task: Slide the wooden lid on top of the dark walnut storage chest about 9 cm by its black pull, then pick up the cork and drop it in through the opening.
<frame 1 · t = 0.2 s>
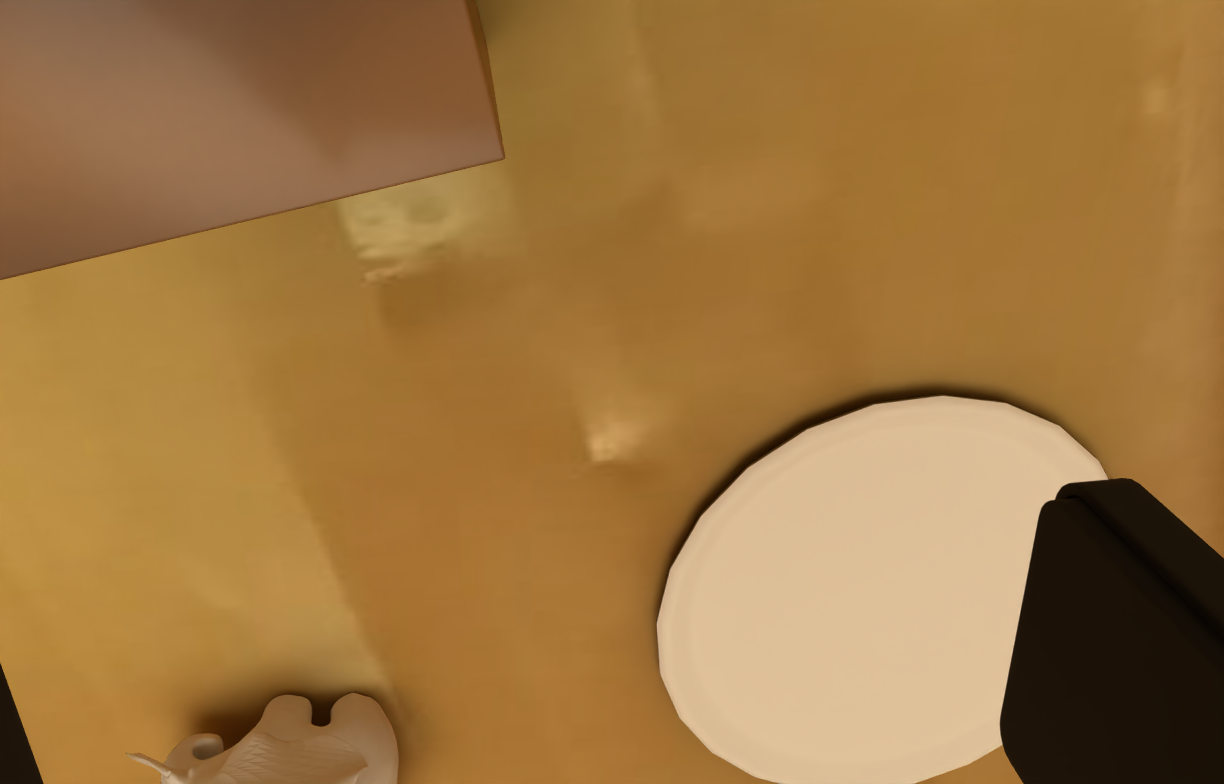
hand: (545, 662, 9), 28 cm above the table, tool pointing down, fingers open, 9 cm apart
plate: (885, 596, 46), on the table
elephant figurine: (294, 740, 45), on the table
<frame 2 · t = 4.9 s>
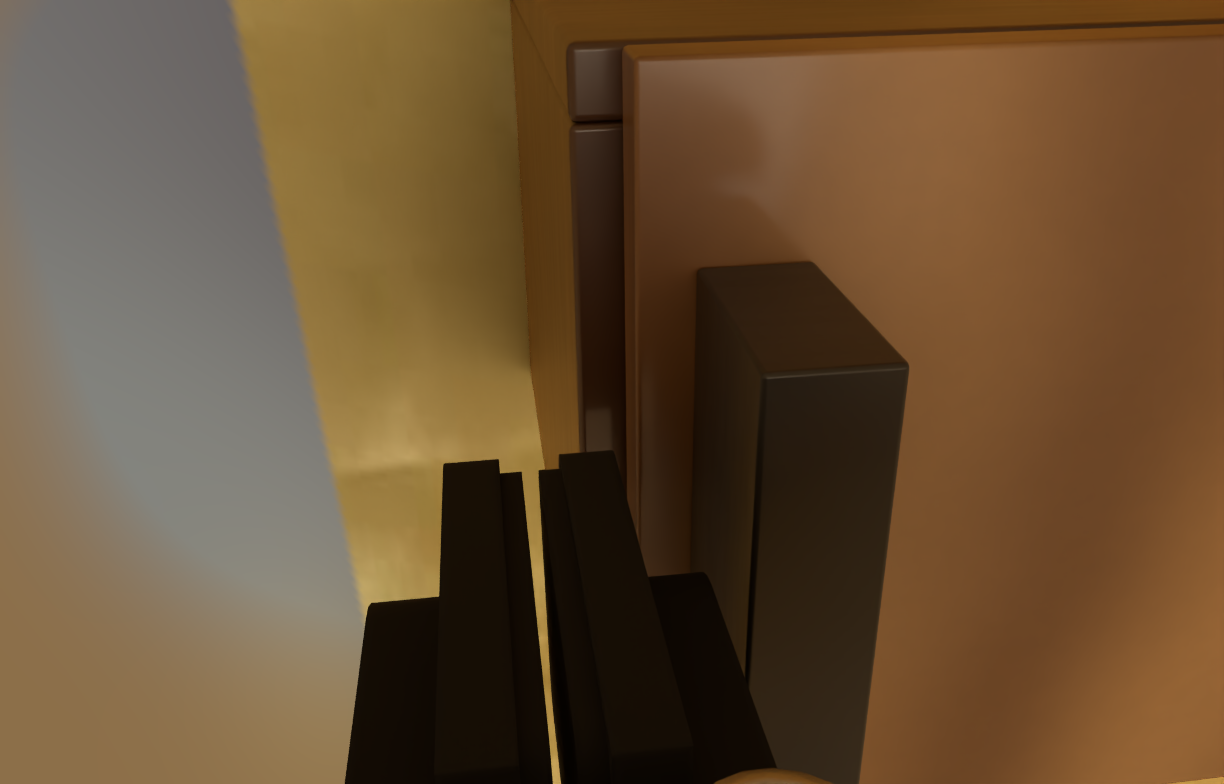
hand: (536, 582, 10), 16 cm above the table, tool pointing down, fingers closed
wooden lid: (1106, 533, 11), point 16 cm above the table, slide at 0.5 cm, touching gripper
chest: (726, 174, 25), on the table
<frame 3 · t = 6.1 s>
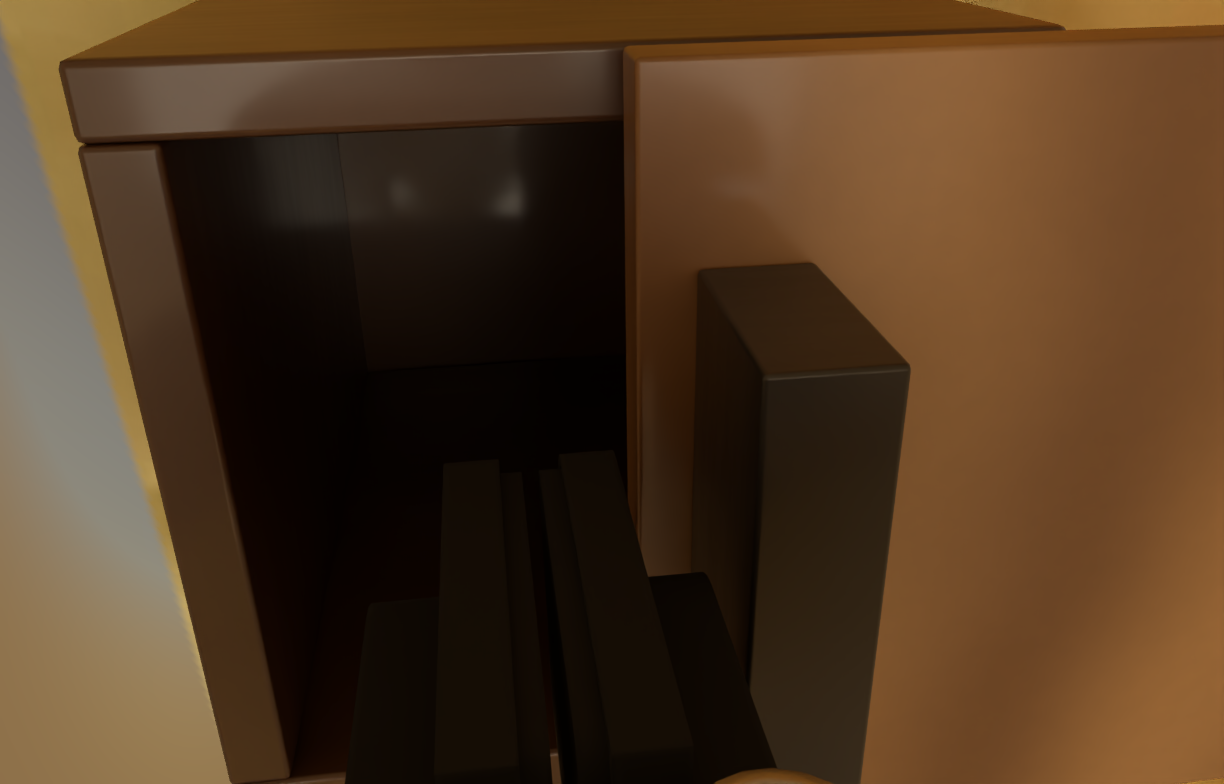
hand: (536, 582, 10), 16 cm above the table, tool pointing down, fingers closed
wooden lid: (1107, 534, 11), point 16 cm above the table, slide at 5.3 cm, touching gripper
chest: (529, 184, 25), on the table
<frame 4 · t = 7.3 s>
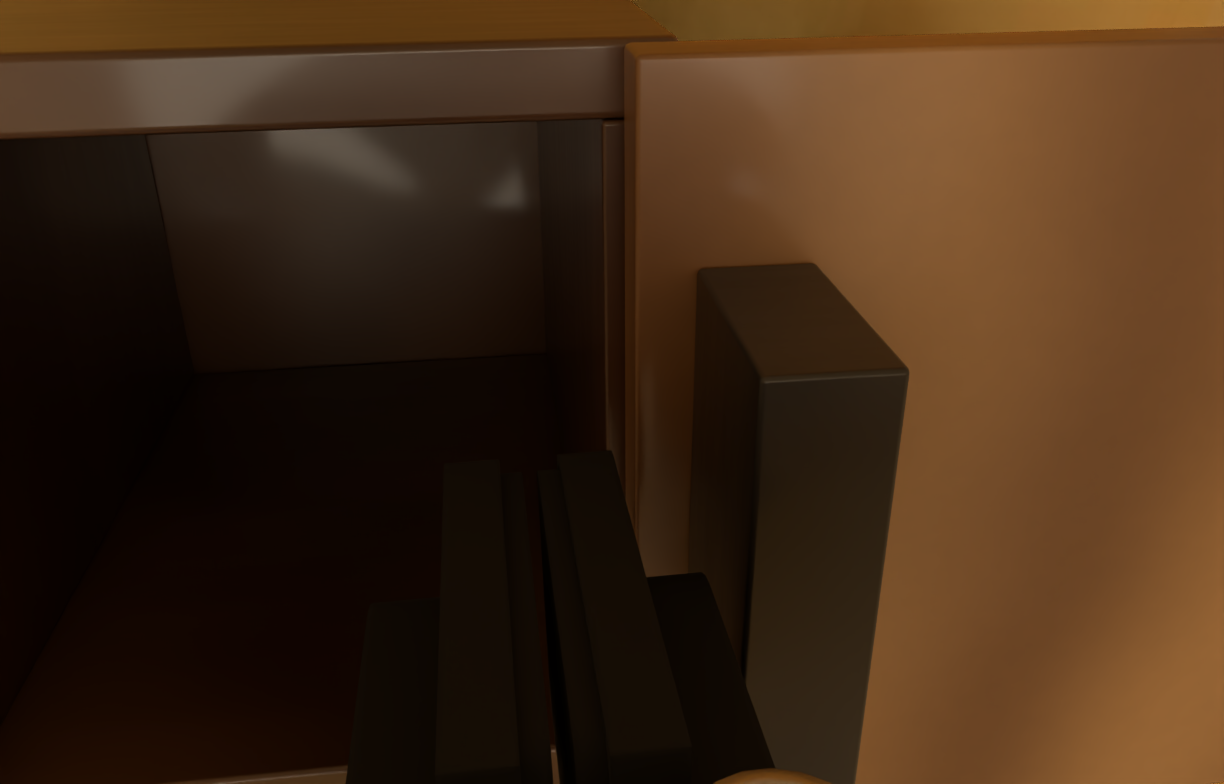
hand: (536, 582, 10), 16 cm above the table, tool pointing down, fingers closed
wooden lid: (1107, 538, 11), point 16 cm above the table, slide at 9.4 cm, touching gripper
chest: (356, 184, 24), on the table
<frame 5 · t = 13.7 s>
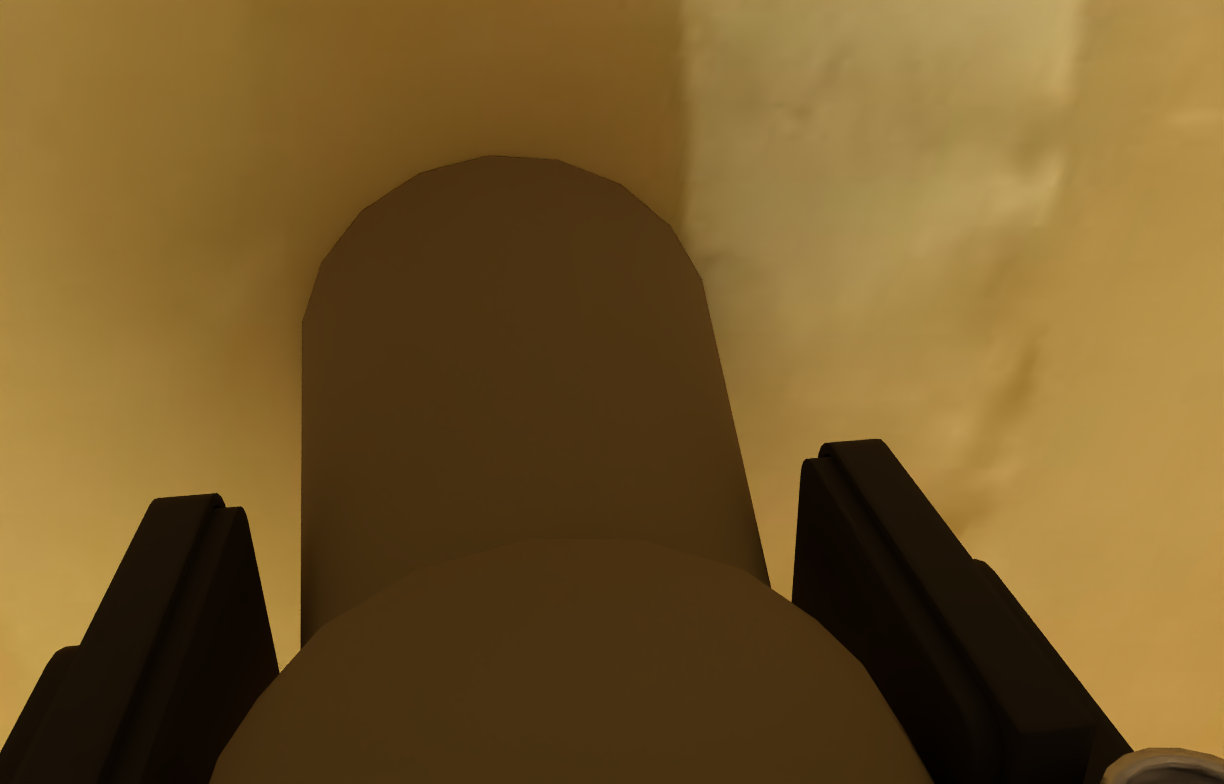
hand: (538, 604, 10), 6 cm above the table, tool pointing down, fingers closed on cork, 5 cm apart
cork: (511, 353, 16), on the table, touching gripper
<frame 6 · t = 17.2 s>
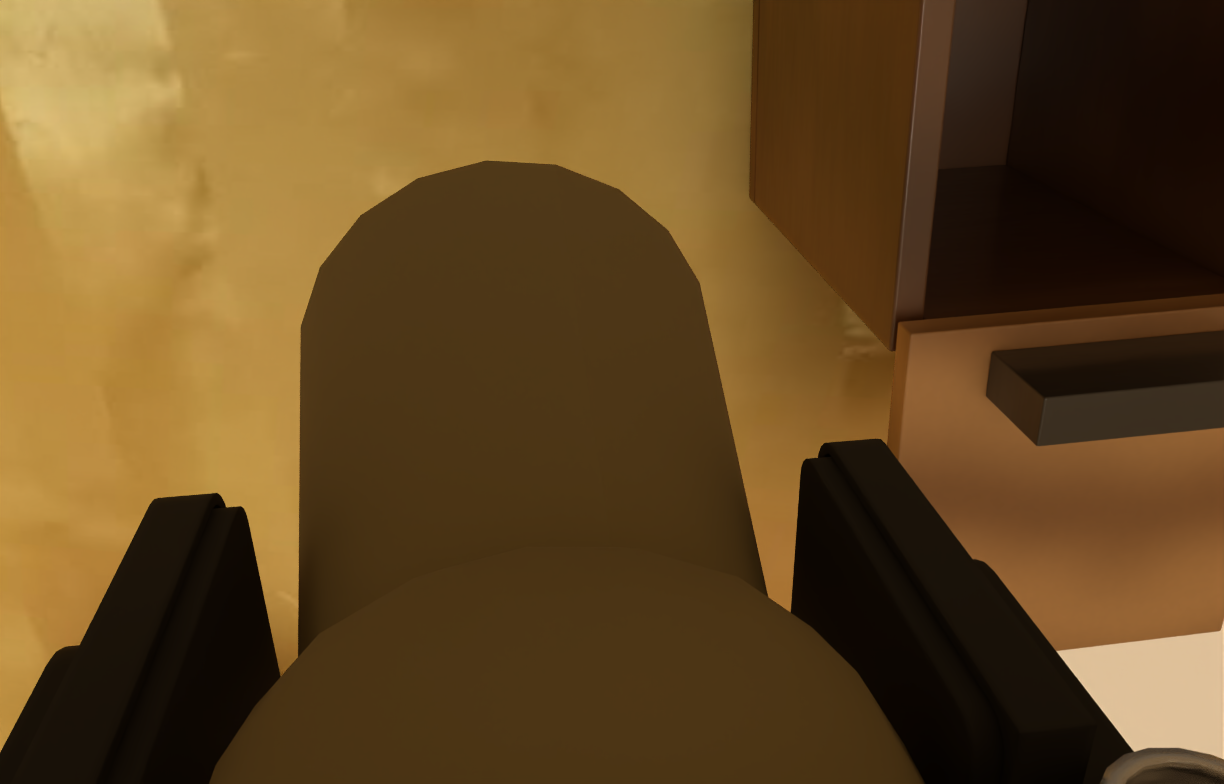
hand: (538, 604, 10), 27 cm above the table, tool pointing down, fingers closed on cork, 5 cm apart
plate: (1153, 685, 51), on the table
wooden lid: (1100, 516, 26), point 16 cm above the table, slide at 9.0 cm
chest: (894, 45, 36), on the table
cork: (510, 357, 16), point 21 cm above the table, touching gripper
when the fingers open (18 cm above the table, at t = 21.0 s): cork drops 11 cm, resting on chest.
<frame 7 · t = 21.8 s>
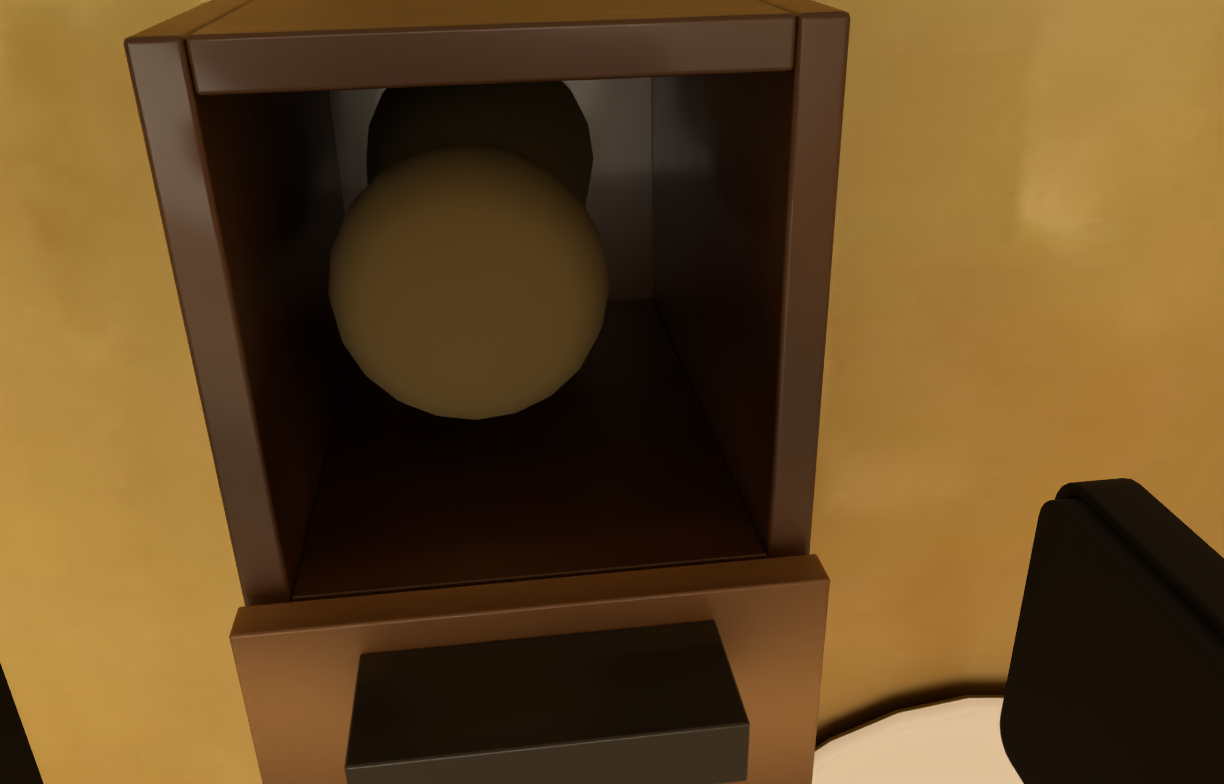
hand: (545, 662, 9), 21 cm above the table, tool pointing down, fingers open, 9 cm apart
chest: (497, 155, 29), on the table
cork: (481, 158, 28), point 1 cm above the table, touching chest
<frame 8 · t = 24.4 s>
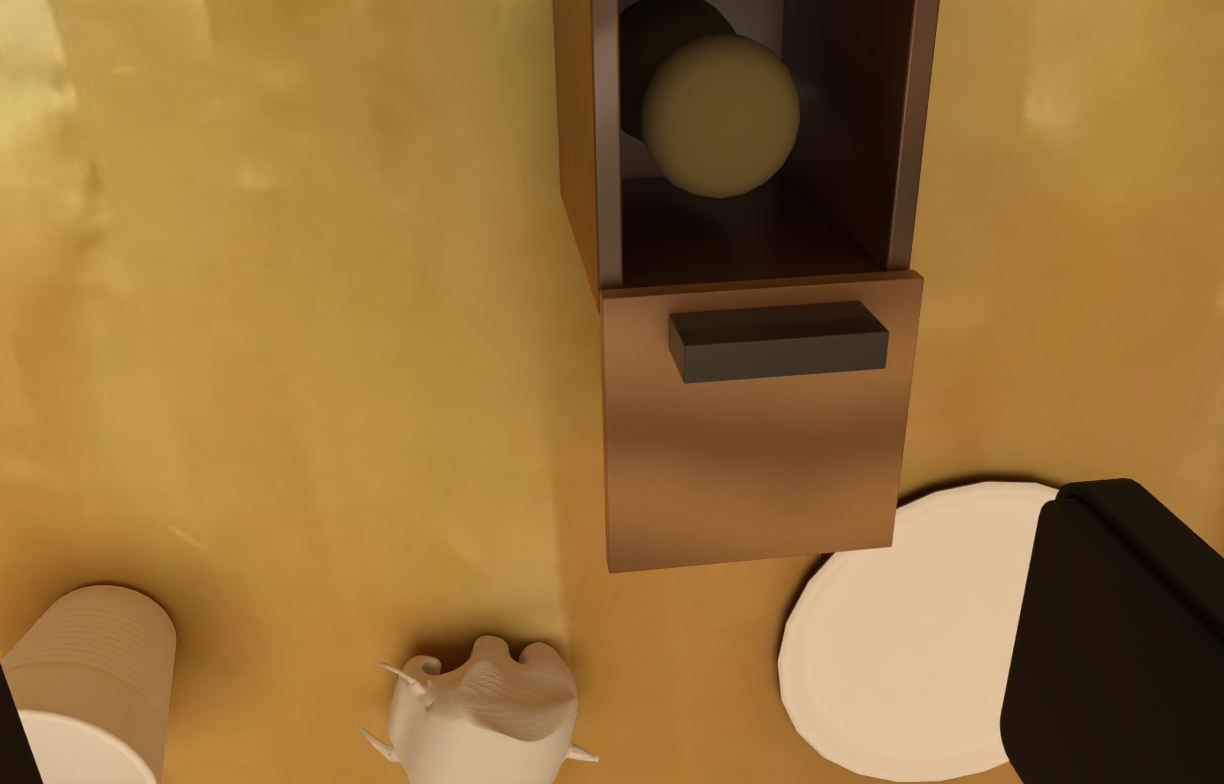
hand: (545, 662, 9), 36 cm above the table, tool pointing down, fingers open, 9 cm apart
plate: (952, 629, 59), on the table
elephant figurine: (481, 674, 56), on the table
wooden lid: (766, 446, 33), point 16 cm above the table, slide at 9.0 cm
cup: (113, 628, 51), on the table
chest: (676, 70, 43), on the table
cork: (668, 70, 42), point 1 cm above the table, touching chest
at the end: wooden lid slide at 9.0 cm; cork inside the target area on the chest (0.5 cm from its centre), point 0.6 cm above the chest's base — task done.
